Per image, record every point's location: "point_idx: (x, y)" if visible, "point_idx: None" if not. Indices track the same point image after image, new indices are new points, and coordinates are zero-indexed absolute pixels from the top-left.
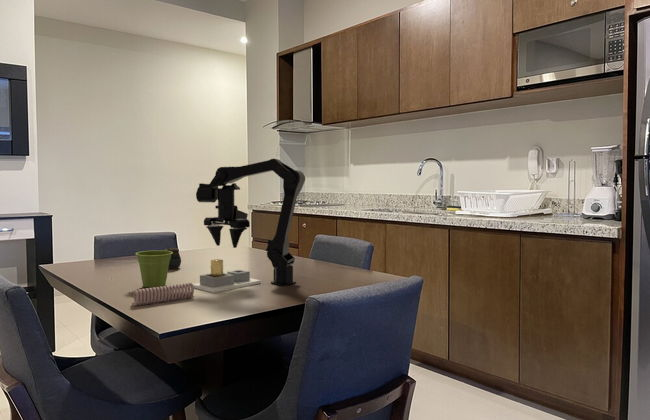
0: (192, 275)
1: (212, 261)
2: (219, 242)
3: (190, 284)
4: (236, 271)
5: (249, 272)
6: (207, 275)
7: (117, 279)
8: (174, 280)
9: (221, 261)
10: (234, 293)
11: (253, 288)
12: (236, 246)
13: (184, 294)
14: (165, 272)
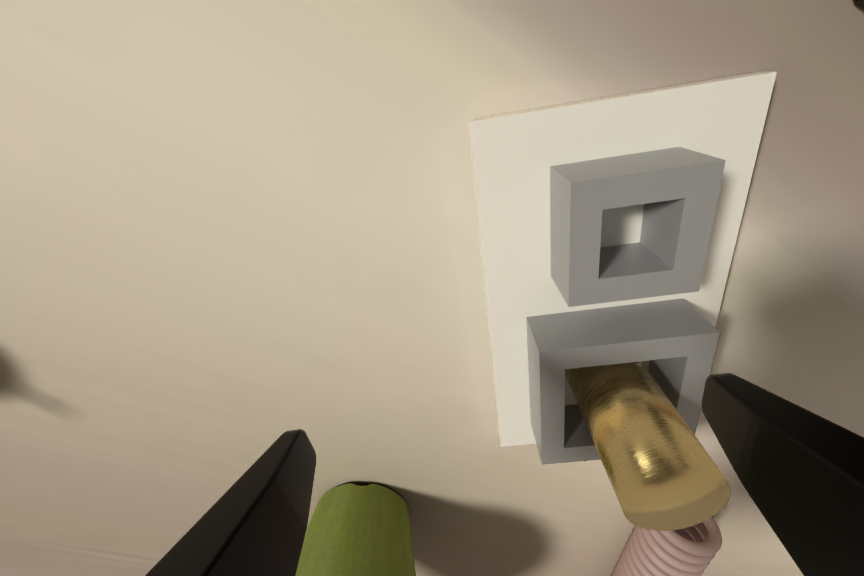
0: (168, 316)
1: (674, 526)
2: (290, 473)
3: (708, 553)
4: (599, 238)
5: (718, 160)
6: (563, 432)
7: (152, 548)
8: (284, 428)
9: (725, 485)
10: (793, 358)
11: (817, 220)
12: (745, 387)
13: (690, 534)
14: (403, 558)
